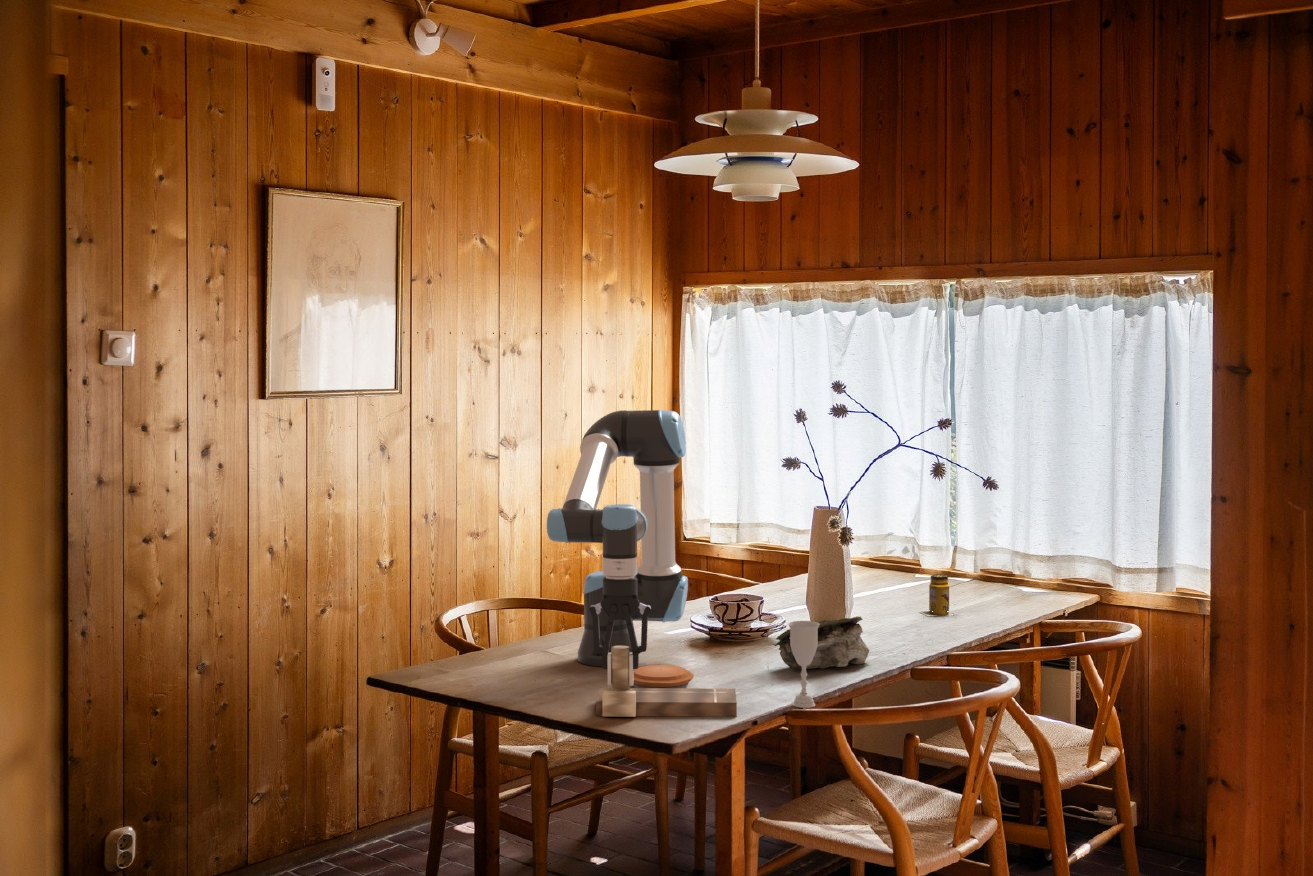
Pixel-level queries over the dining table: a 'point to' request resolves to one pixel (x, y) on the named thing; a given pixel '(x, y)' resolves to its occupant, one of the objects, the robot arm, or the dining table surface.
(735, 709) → the board
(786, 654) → the hollow geode rock
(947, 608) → the condiment
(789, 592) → the dining table surface
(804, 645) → the chalice
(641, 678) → the pie
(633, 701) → the wooden handled tool
